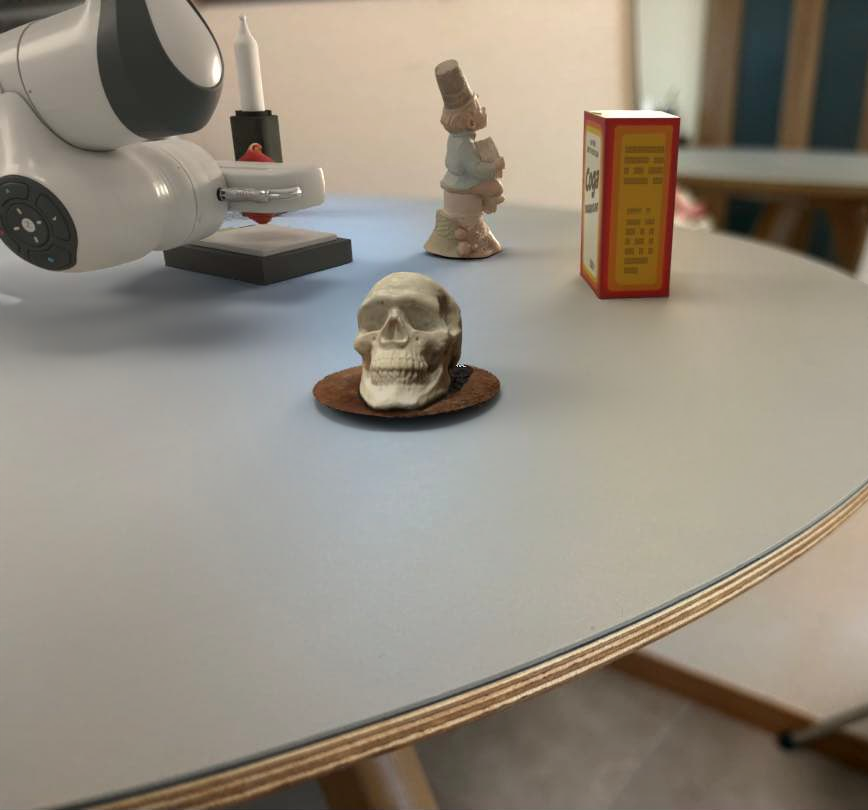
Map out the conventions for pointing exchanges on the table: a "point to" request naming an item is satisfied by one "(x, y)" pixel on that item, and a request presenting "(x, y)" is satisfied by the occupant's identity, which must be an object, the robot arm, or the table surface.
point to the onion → (257, 156)
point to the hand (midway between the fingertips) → (261, 173)
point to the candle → (252, 102)
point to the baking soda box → (628, 202)
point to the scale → (261, 253)
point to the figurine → (465, 172)
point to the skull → (407, 355)
